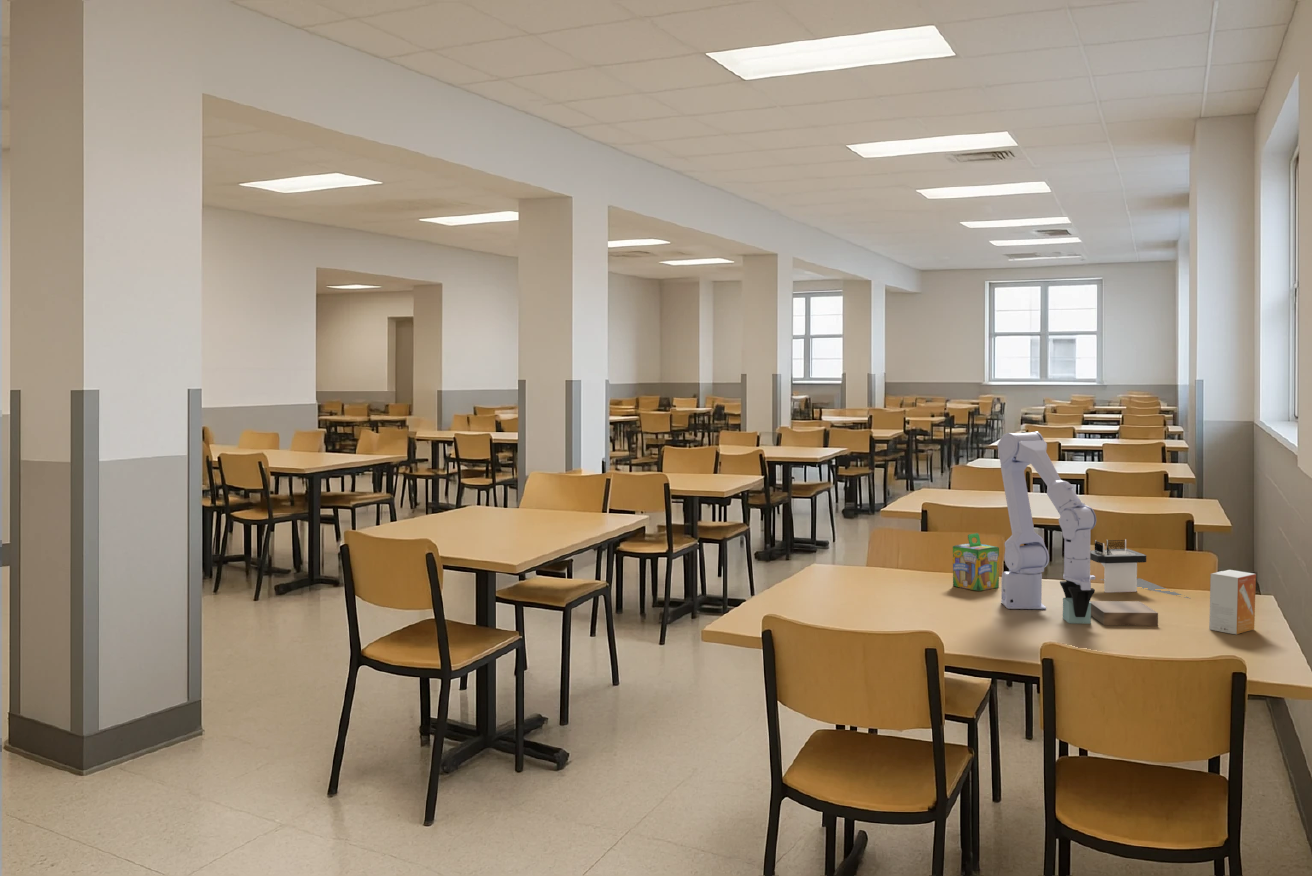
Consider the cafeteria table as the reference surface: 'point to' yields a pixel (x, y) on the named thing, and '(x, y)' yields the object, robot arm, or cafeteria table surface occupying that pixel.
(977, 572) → the chalk box
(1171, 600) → the cafeteria table surface
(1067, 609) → the teal cube
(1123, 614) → the walnut base
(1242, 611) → the small box
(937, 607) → the cafeteria table surface
